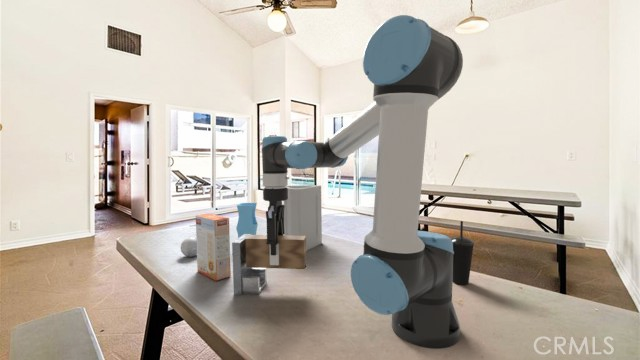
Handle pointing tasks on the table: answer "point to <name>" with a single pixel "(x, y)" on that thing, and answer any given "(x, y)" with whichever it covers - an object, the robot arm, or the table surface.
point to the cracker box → (213, 246)
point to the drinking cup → (462, 258)
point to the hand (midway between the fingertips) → (276, 261)
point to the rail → (289, 252)
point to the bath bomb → (189, 247)
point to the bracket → (245, 271)
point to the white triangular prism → (304, 213)
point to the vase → (246, 219)
